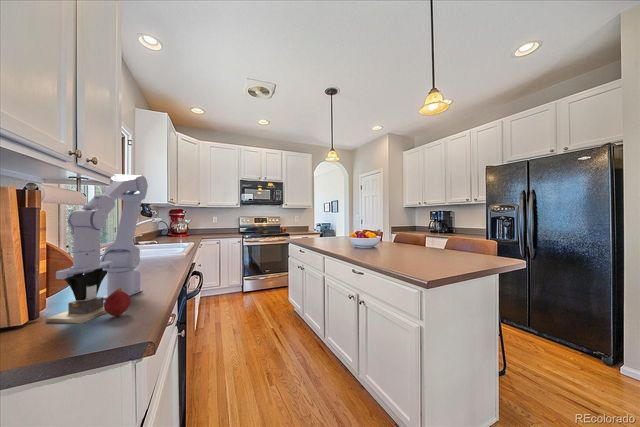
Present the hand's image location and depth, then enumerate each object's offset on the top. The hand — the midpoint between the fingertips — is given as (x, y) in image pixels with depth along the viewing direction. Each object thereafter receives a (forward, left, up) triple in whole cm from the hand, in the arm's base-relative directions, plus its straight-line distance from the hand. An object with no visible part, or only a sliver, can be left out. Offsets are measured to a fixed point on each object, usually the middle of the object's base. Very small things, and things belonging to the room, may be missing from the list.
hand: (86, 297), depth 71 cm
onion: (+1, +11, -5) cm, 12 cm away
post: (0, 0, -3) cm, 3 cm away
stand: (0, 0, -5) cm, 5 cm away
